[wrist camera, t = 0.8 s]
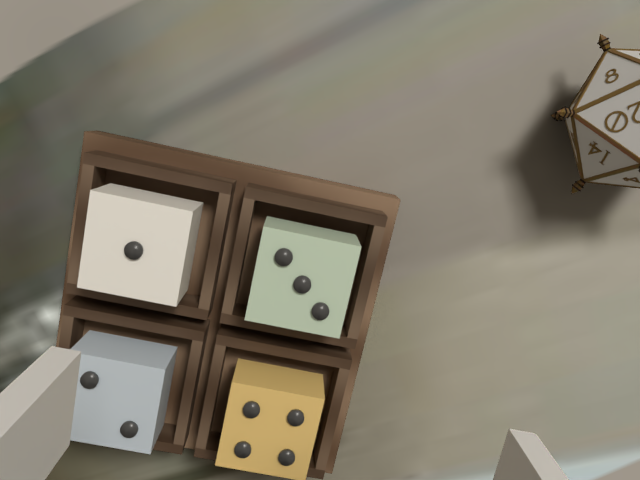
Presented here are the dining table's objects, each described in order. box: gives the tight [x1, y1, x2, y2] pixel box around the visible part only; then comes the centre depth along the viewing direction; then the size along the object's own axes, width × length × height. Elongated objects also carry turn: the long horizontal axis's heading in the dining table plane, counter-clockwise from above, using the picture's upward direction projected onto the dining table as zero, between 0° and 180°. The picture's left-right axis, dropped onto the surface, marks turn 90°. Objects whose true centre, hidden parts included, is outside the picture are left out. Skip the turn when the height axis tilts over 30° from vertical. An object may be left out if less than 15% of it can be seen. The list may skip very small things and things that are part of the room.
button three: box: [245, 216, 361, 339], centre depth 30 cm, size 5×5×3 cm
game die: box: [551, 34, 640, 194], centre depth 30 cm, size 9×8×10 cm
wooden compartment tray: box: [56, 131, 400, 479], centre depth 33 cm, size 18×18×4 cm
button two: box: [70, 330, 178, 454], centre depth 31 cm, size 5×5×3 cm
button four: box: [215, 358, 325, 480], centre depth 32 cm, size 5×5×3 cm
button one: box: [77, 183, 203, 307], centre depth 29 cm, size 5×5×3 cm
